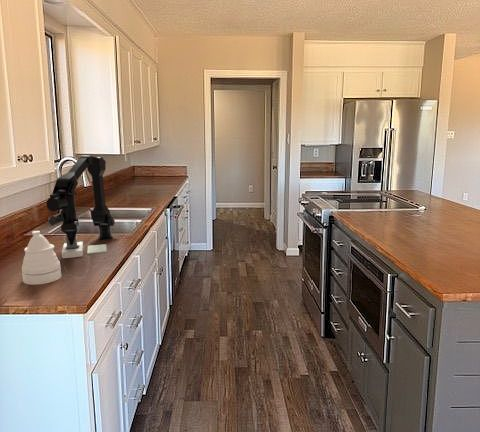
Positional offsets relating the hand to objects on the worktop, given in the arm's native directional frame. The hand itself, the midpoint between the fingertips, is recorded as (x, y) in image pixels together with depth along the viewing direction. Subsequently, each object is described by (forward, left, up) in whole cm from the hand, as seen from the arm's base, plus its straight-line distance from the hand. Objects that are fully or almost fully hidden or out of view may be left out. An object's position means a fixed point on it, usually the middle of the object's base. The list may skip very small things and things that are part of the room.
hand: (72, 242), depth 192 cm
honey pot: (+31, -9, -5) cm, 33 cm away
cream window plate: (-1, 0, -5) cm, 5 cm away
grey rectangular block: (0, 0, -5) cm, 5 cm away
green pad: (-2, +10, -5) cm, 11 cm away
